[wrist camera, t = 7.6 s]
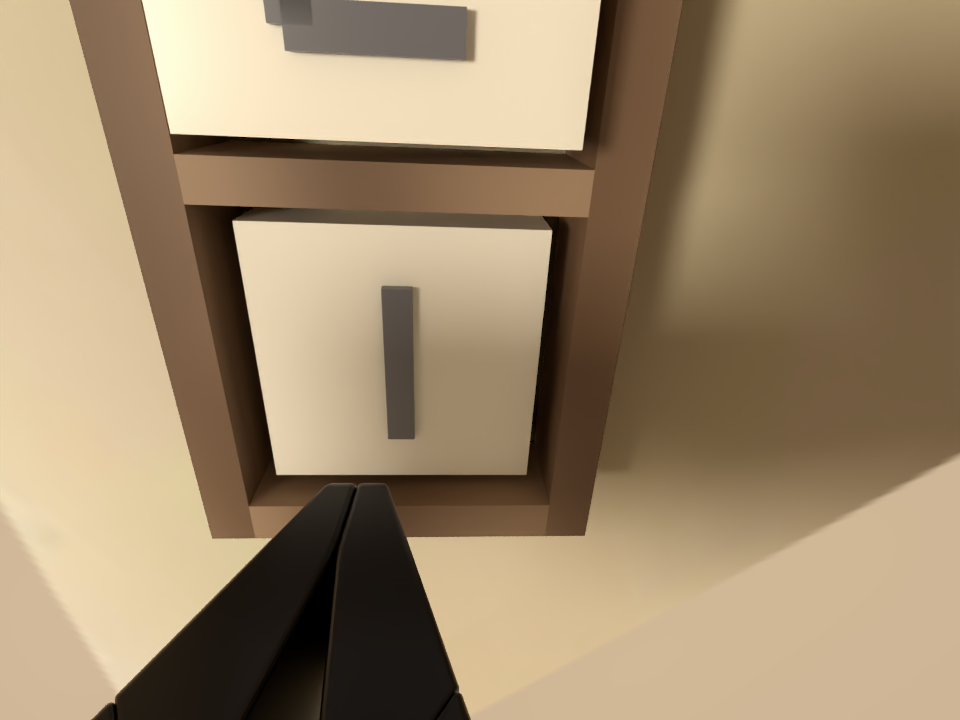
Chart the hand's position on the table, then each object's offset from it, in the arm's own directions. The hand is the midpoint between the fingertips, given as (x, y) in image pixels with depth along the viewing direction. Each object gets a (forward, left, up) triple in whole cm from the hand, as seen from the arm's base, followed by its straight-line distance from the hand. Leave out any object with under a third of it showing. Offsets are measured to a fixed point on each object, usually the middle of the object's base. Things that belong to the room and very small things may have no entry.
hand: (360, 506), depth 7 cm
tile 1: (0, 0, -6) cm, 6 cm away
